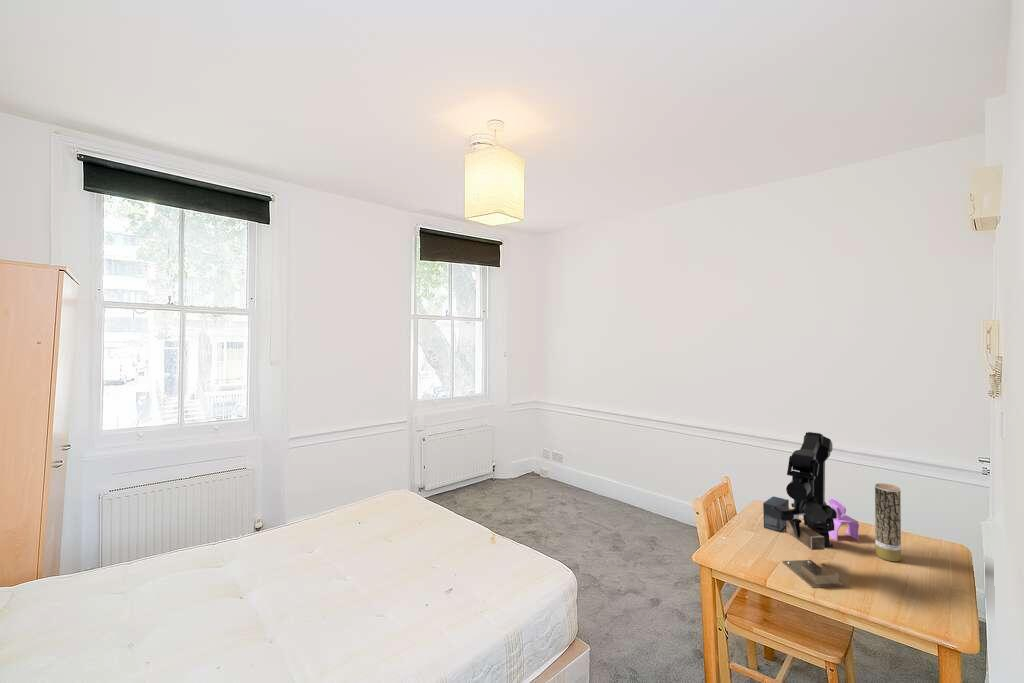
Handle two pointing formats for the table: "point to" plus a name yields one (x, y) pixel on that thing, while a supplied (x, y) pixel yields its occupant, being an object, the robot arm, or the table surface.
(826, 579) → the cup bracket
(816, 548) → the walnut rail
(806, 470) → the robot arm
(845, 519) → the toy chair
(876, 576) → the table surface
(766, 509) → the small box
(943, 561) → the table surface
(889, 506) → the log-patterned cylinder
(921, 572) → the table surface
